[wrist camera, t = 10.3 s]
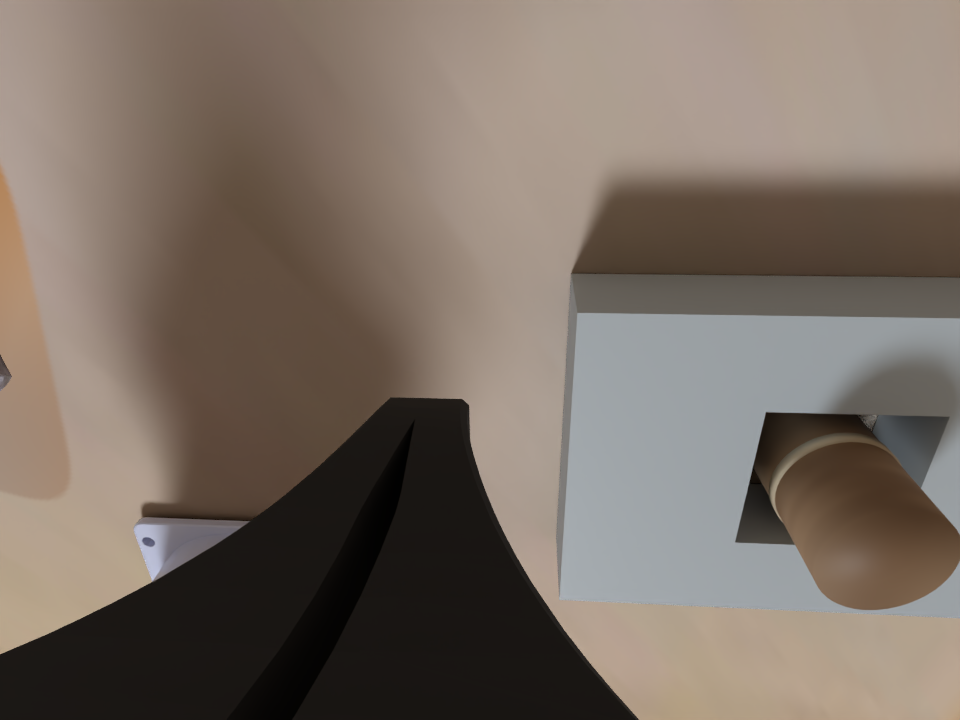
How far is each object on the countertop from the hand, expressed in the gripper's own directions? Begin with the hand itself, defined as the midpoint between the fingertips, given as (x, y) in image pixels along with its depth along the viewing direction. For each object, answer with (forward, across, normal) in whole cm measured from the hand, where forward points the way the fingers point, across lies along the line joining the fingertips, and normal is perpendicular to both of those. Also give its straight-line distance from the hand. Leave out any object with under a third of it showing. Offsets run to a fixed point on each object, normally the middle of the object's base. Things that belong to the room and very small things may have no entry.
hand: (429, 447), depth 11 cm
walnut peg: (+10, -11, +6) cm, 16 cm away
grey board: (+10, -11, +6) cm, 16 cm away
